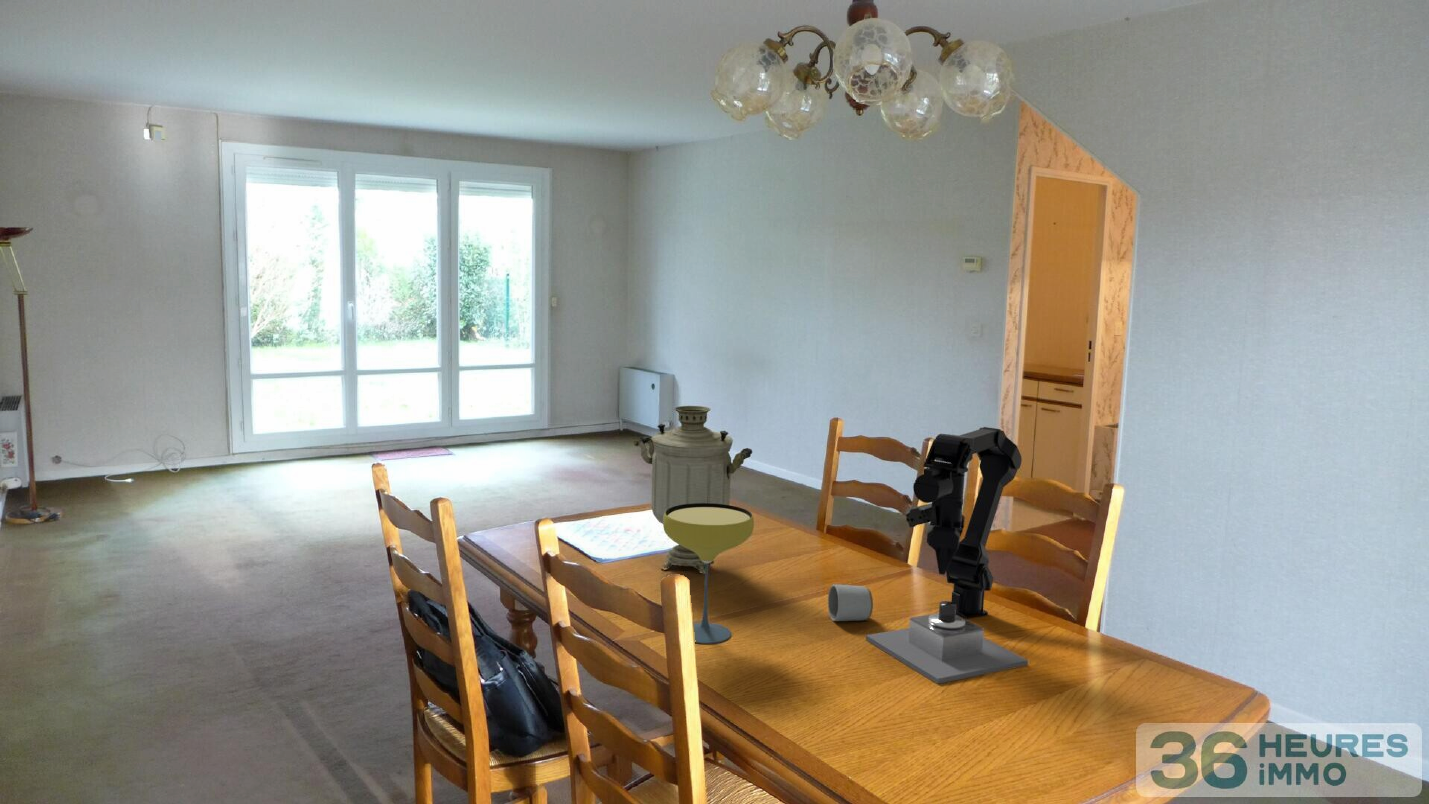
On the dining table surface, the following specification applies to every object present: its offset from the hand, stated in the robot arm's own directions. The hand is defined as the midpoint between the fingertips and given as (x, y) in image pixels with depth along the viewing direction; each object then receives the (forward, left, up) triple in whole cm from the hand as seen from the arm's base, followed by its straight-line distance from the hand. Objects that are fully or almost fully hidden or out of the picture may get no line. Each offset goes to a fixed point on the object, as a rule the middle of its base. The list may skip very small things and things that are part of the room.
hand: (943, 567), depth 193 cm
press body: (+8, +11, -13) cm, 19 cm away
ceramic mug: (+15, -12, -13) cm, 24 cm away
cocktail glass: (+48, -15, -13) cm, 52 cm away
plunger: (+8, +11, -12) cm, 18 cm away
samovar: (+30, -58, -13) cm, 67 cm away
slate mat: (+8, +11, -13) cm, 19 cm away
